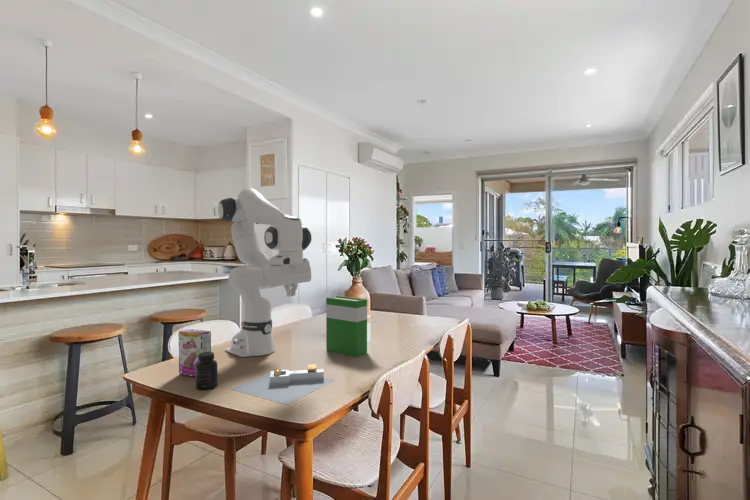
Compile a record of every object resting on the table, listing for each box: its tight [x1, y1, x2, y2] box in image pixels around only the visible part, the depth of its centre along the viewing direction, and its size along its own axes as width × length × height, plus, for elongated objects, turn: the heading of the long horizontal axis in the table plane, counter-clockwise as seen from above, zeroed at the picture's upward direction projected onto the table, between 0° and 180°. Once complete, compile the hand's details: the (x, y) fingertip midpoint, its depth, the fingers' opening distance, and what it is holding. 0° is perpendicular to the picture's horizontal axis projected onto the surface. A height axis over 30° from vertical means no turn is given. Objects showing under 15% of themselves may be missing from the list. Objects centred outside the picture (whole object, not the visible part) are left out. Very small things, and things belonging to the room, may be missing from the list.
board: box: [230, 367, 335, 406], centre depth 132 cm, size 25×24×1 cm
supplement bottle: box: [195, 351, 219, 392], centre depth 130 cm, size 7×7×12 cm
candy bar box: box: [178, 328, 212, 377], centre depth 144 cm, size 11×5×16 cm, turn 71°
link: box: [270, 368, 325, 386], centre depth 136 cm, size 18×6×3 cm, turn 102°
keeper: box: [306, 363, 318, 371], centre depth 138 cm, size 3×5×4 cm, turn 15°
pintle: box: [273, 368, 281, 376], centre depth 134 cm, size 2×2×4 cm
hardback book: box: [325, 295, 368, 358], centre depth 174 cm, size 18×7×24 cm, turn 54°
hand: (291, 296), depth 145 cm, fingers closed
